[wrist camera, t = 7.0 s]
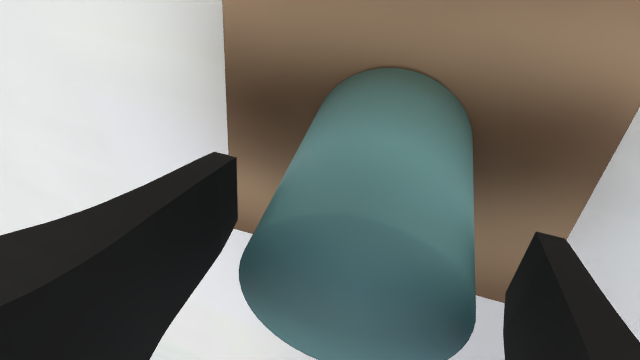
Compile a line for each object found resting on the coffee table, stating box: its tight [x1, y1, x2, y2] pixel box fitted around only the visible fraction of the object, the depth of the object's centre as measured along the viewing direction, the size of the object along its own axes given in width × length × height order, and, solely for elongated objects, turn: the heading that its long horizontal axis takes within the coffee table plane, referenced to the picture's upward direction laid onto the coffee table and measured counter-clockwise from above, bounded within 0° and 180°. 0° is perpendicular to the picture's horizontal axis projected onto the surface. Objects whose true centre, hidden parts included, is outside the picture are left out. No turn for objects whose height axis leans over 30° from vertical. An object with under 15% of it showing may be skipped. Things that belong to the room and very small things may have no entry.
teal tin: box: [239, 68, 476, 360], centre depth 12 cm, size 5×5×6 cm
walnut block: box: [222, 0, 640, 303], centre depth 16 cm, size 12×12×4 cm
